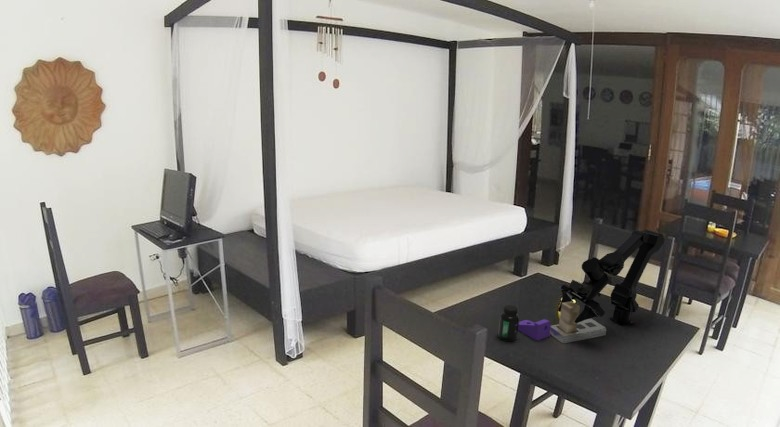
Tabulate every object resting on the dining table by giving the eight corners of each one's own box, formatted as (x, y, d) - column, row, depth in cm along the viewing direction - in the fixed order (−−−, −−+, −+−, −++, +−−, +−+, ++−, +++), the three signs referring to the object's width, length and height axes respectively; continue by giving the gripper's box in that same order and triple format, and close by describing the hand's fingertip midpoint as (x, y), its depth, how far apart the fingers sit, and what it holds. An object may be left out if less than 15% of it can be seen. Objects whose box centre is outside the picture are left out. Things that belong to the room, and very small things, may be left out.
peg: (567, 332, 188) (571, 301, 185) (575, 338, 184) (580, 306, 181) (557, 334, 187) (561, 302, 183) (565, 340, 183) (570, 308, 179)
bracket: (549, 336, 185) (551, 320, 183) (536, 341, 181) (539, 324, 180) (524, 323, 195) (526, 307, 193) (512, 327, 191) (514, 311, 189)
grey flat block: (590, 325, 194) (591, 318, 193) (605, 335, 187) (606, 327, 186) (548, 333, 187) (549, 325, 186) (562, 343, 180) (563, 335, 179)
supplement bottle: (505, 343, 179) (508, 313, 176) (494, 334, 185) (497, 305, 182) (520, 340, 182) (524, 310, 178) (509, 331, 188) (512, 302, 184)
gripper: (567, 264, 189) (540, 294, 188) (603, 283, 172) (573, 316, 171) (580, 280, 193) (554, 310, 193) (617, 301, 177) (588, 333, 176)
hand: (566, 316), depth 183 cm, fingers open, 9 cm apart
